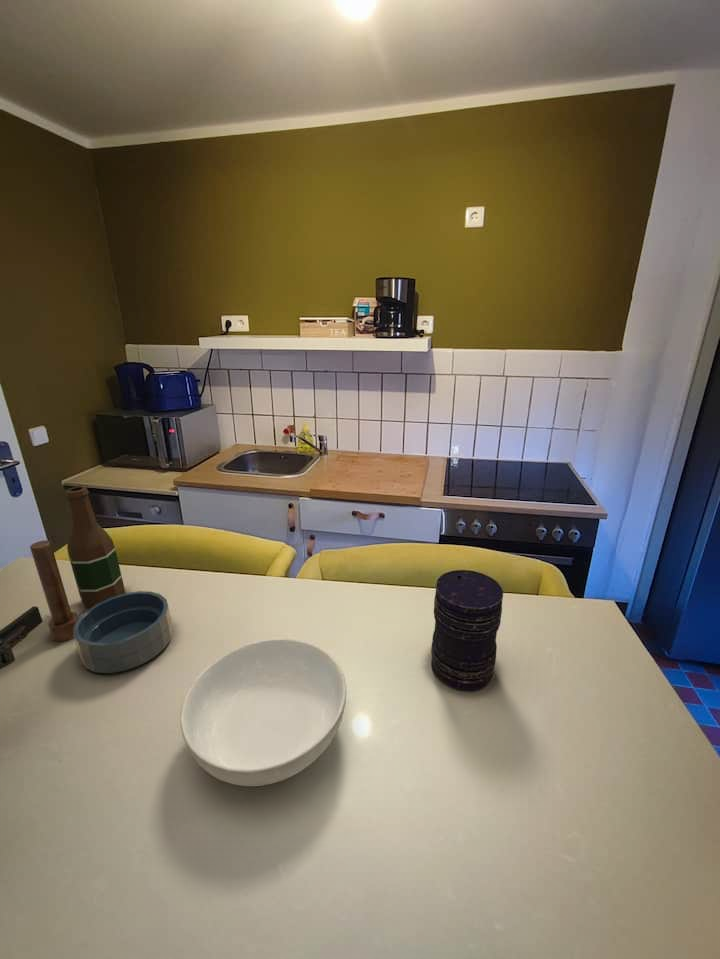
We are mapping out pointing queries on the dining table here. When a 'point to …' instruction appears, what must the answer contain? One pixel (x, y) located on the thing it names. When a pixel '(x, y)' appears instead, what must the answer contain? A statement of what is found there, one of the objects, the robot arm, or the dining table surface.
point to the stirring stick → (54, 592)
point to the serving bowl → (263, 711)
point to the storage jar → (465, 629)
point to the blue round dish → (123, 631)
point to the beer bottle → (91, 552)
